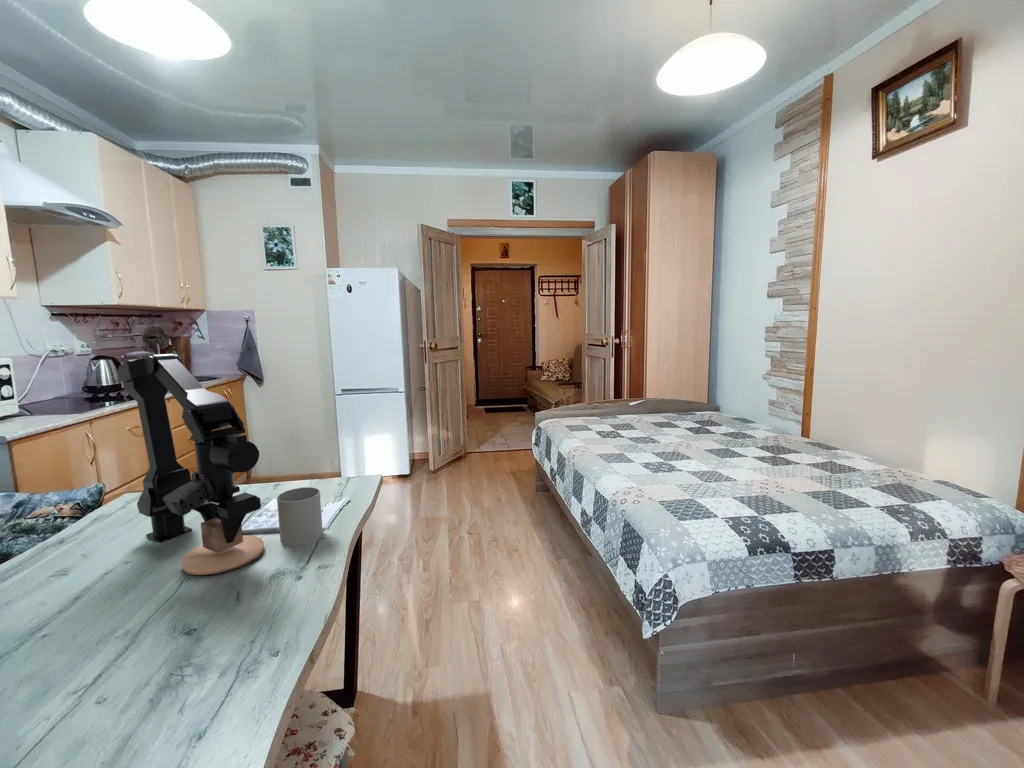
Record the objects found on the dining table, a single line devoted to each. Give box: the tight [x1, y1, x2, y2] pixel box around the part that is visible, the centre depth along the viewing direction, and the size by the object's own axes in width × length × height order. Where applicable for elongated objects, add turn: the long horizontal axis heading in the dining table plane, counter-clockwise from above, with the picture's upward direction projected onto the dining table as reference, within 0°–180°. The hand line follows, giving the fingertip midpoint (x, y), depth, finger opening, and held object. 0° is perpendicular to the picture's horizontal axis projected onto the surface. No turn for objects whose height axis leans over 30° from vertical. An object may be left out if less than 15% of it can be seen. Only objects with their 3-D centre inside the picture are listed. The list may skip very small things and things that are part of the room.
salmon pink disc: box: [180, 534, 265, 576], centre depth 90 cm, size 14×14×1 cm
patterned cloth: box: [242, 496, 349, 535], centre depth 110 cm, size 19×20×2 cm
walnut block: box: [200, 518, 244, 553], centre depth 89 cm, size 5×5×5 cm
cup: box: [276, 486, 324, 548], centre depth 97 cm, size 8×8×10 cm
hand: (222, 539), depth 89 cm, fingers closed on walnut block, 5 cm apart
